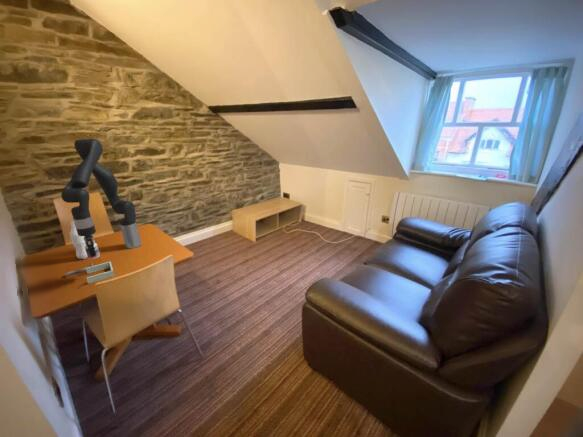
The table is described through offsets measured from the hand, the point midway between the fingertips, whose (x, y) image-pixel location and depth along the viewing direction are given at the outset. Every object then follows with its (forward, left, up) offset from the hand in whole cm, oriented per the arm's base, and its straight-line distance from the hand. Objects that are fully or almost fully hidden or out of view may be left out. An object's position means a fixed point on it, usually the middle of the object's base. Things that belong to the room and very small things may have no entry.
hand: (93, 253), depth 133 cm
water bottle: (+6, -29, -14) cm, 33 cm away
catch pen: (0, 0, -14) cm, 14 cm away
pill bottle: (0, 0, -2) cm, 2 cm away
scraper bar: (+9, -9, -14) cm, 19 cm away
